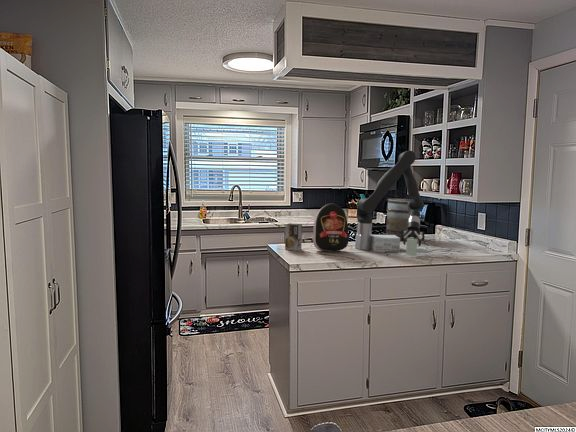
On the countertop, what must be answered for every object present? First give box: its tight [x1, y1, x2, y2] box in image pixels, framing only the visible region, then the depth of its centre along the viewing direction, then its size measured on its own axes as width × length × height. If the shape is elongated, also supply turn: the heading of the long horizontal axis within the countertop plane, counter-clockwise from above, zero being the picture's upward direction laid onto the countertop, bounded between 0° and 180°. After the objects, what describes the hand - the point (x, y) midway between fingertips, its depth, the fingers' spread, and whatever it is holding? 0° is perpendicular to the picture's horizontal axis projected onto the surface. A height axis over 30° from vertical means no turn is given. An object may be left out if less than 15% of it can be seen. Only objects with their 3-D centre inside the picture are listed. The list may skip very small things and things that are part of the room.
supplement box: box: [370, 234, 401, 253], centre depth 280 cm, size 17×13×9 cm
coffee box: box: [284, 222, 303, 251], centre depth 270 cm, size 9×6×16 cm
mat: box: [417, 248, 432, 254], centre depth 278 cm, size 12×12×1 cm
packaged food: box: [312, 202, 350, 252], centre depth 268 cm, size 22×20×30 cm
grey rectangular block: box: [405, 237, 418, 257], centre depth 265 cm, size 9×6×10 cm, turn 162°
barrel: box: [385, 198, 414, 242], centre depth 327 cm, size 22×22×30 cm
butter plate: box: [396, 251, 426, 259], centre depth 265 cm, size 12×12×4 cm
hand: (411, 245), depth 263 cm, fingers open, 8 cm apart
